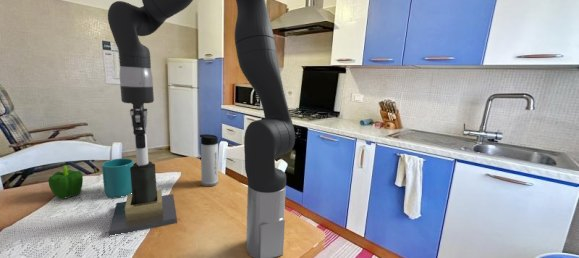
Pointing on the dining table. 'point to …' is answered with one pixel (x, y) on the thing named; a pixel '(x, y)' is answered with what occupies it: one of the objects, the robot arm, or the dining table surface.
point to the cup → (117, 177)
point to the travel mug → (209, 159)
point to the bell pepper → (66, 183)
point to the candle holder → (143, 214)
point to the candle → (143, 177)
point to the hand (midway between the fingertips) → (141, 146)
